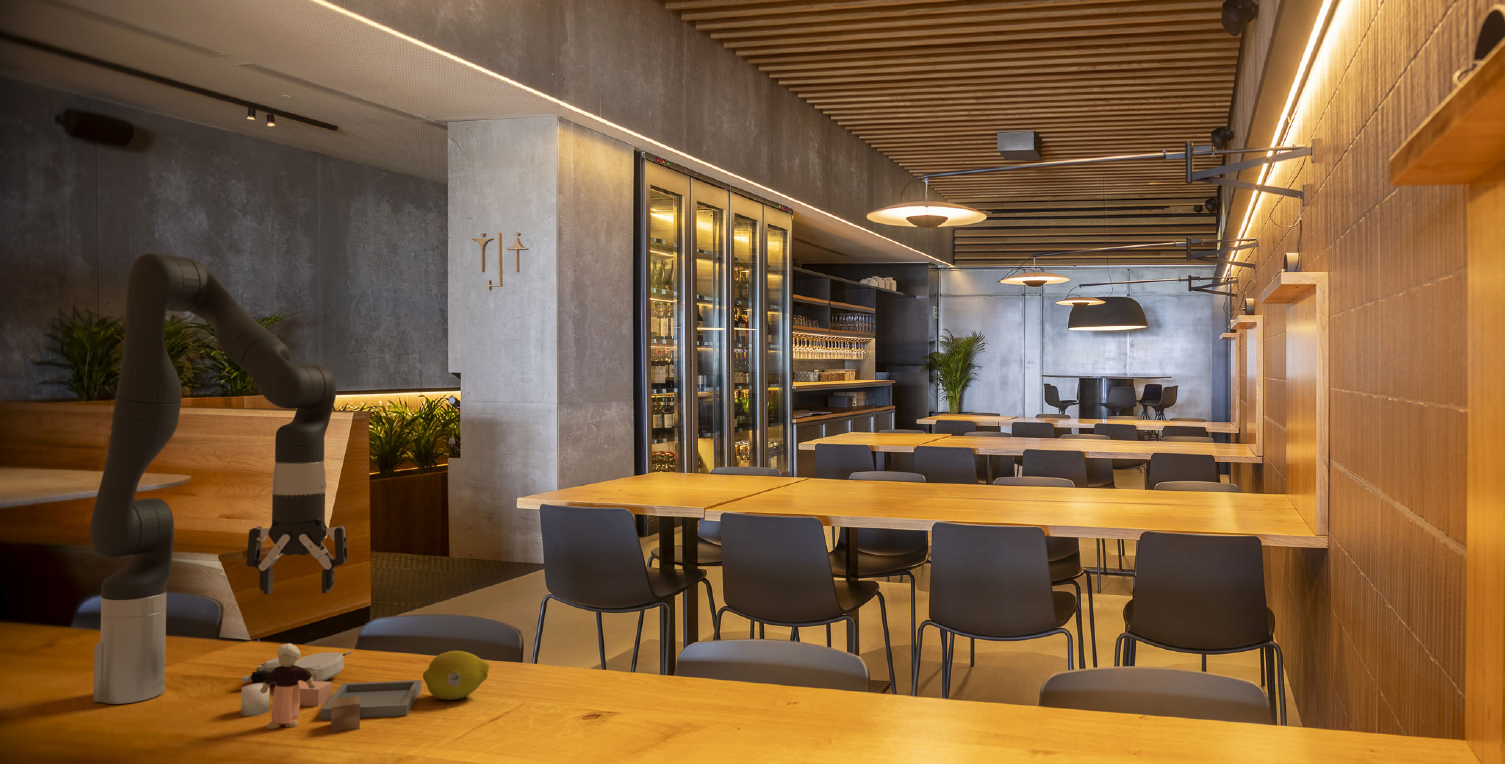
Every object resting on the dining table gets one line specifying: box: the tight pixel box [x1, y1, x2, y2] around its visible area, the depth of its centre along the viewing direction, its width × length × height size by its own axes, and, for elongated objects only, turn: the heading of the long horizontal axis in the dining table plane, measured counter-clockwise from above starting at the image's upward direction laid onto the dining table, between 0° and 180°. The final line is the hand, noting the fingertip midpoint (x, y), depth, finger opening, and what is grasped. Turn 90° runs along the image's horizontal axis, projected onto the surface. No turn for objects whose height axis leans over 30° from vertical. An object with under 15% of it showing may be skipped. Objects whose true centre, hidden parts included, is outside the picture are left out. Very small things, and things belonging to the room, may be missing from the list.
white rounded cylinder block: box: [240, 682, 271, 717], centre depth 148 cm, size 4×4×4 cm
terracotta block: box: [298, 680, 333, 707], centre depth 154 cm, size 6×4×3 cm, turn 83°
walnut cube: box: [330, 696, 361, 734], centre depth 142 cm, size 4×4×4 cm
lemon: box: [422, 650, 490, 701], centre depth 156 cm, size 11×8×8 cm
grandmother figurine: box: [260, 643, 315, 730], centre depth 143 cm, size 8×4×13 cm, turn 117°
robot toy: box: [241, 651, 353, 685], centre depth 164 cm, size 12×4×15 cm
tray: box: [320, 679, 423, 721], centre depth 153 cm, size 13×13×2 cm
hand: (297, 592), depth 144 cm, fingers open, 8 cm apart
